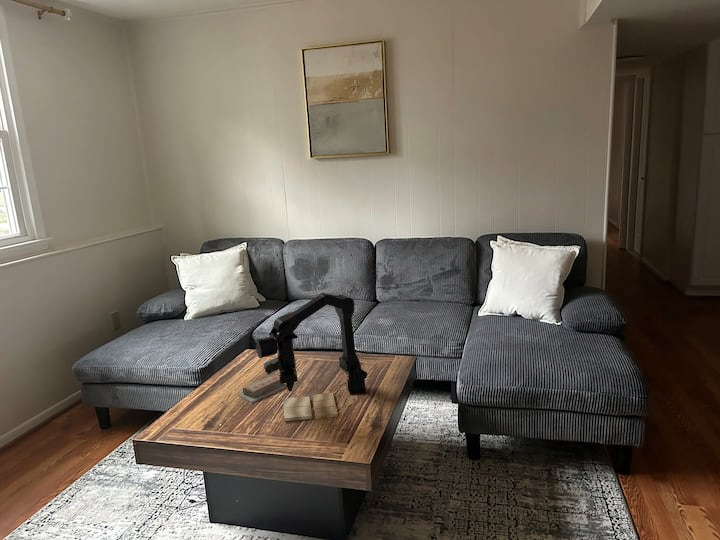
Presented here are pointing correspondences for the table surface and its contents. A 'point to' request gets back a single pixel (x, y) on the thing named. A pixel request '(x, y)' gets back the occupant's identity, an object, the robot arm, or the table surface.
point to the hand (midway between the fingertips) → (290, 390)
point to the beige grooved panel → (297, 408)
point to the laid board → (324, 406)
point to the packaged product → (262, 388)
